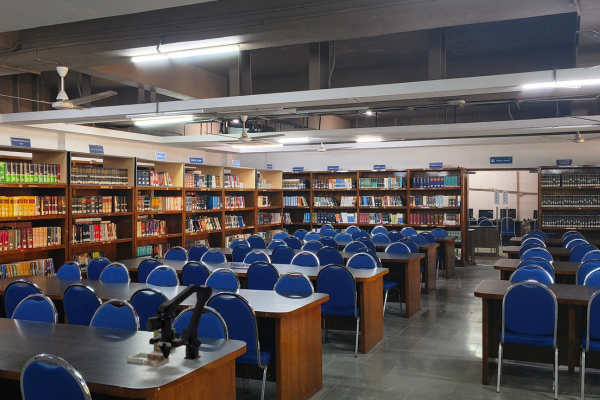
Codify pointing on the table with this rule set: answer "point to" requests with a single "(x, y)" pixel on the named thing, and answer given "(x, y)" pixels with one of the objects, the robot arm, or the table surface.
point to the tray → (137, 358)
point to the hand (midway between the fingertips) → (166, 358)
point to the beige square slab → (155, 362)
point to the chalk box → (157, 334)
